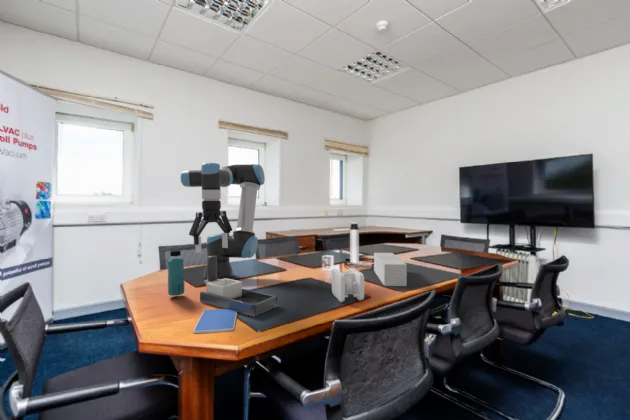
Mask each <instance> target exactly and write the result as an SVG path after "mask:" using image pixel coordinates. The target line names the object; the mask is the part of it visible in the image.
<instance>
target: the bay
mask: <svg viewBox="0 0 630 420" xmlns="http://www.w3.org/2000/svg"><path fill="white" fill-rule="evenodd" d="M278 299H279V298H278V295H275V294H269V293H264V292H260V291H255V290H251V289H246V288H243V287H242V296H240V297H237V298H234V299H230V298H226V297H222V296H219V295H215V294H211V293H207V292H206V291H200V292H199V302H200V303H202V304H203V303H204V304H206V305H210V306H214V307H217V308H219V309H232V310H235V311H237V312H238V313H237V314H241V313H242V315H244V314H245V315H244V316H248V315H249V316H248V317H251V316H253V317H252V318H255V316H256V317H257V315H258V316H260V315H261V313H262V314H264V313H266V311H267V312H269V311H271V310H273V309H275V308H277V307H278ZM272 308H273V309H272ZM270 309H271V310H270ZM268 310H269V311H268ZM259 314H260V315H259Z"/></svg>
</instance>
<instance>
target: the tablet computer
mask: <svg viewBox="0 0 630 420" xmlns="http://www.w3.org/2000/svg"><path fill="white" fill-rule="evenodd" d="M237 317H238V313H237V311H235V310H232V309H223V308H218V309H217V308H216V309H204V310H203V311H202V313H201V315H200V317H199V319H198V320H197V323H196V325H195V327H194V329H193V331H192V333H193V334H196V333H197V334H209V333H211V334H212V333H221V332H224V333H225V332H231V331H234V330H235V325H236V321H237Z"/></svg>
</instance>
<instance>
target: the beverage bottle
mask: <svg viewBox="0 0 630 420" xmlns="http://www.w3.org/2000/svg"><path fill="white" fill-rule="evenodd" d="M181 252H182V251H181V250H180V249H179V250H178V249H175V250H171V251H170V254H169V255H170V257H171V258H170V259H169V260H167V274H168V275H167V284H168V285H167V289H168V290H167V293H168V295H169V296H170V297H171V296H173V297H174V296H181V295H183V294H184V293H185V291H186V290H185V288H186V287H185V268H184V267H185V266H184V259H183V258H181V256H182V253H181ZM179 256H180V257H179Z"/></svg>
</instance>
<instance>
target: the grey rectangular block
mask: <svg viewBox="0 0 630 420" xmlns="http://www.w3.org/2000/svg"><path fill="white" fill-rule="evenodd" d="M407 266H408V264H407V263H405V261H403V260H402V259H400V257H399V256H397V255H396V254H394V253H393V252H373V272H374V273H375V274H376V276H377V278H378V279H379V280H380V282H381V283H382V285H383V286H384V287H407V282H408V281H407V278H408V273H407V272H408V271H407V270H408V269H407Z"/></svg>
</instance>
